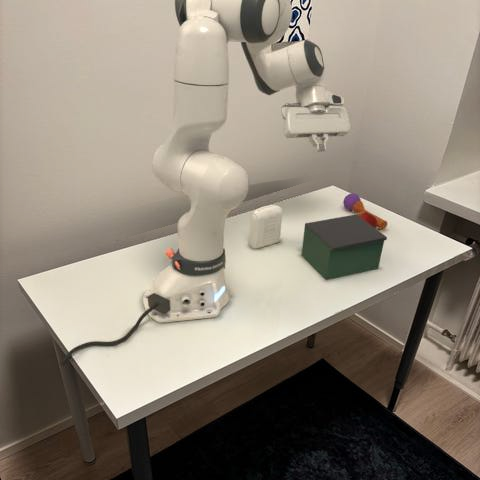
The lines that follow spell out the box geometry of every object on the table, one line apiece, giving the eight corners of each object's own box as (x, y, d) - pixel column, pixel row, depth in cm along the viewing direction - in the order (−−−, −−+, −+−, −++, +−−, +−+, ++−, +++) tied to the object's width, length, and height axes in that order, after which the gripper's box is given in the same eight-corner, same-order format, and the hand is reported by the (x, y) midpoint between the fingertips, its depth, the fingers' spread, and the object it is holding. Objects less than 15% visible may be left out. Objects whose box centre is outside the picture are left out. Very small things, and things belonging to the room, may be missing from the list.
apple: (374, 242, 160) (379, 219, 155) (349, 239, 161) (353, 216, 156) (374, 231, 166) (378, 208, 161) (349, 228, 167) (353, 206, 162)
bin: (378, 268, 147) (384, 238, 141) (326, 280, 141) (330, 249, 135) (350, 245, 157) (355, 217, 151) (301, 255, 152) (304, 226, 146)
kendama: (376, 221, 162) (340, 193, 175) (375, 236, 167) (339, 208, 180) (391, 214, 164) (354, 188, 177) (389, 229, 168) (353, 202, 181)
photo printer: (273, 236, 161) (276, 200, 153) (281, 242, 158) (284, 205, 151) (247, 244, 156) (248, 207, 149) (255, 250, 153) (256, 213, 146)
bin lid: (386, 240, 140) (387, 237, 140) (332, 251, 135) (332, 248, 134) (355, 216, 151) (356, 214, 151) (304, 226, 146) (304, 223, 145)
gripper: (285, 98, 136) (293, 148, 136) (348, 97, 143) (356, 145, 144) (275, 108, 142) (283, 156, 142) (337, 107, 149) (344, 153, 149)
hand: (320, 151), depth 143 cm, fingers closed
